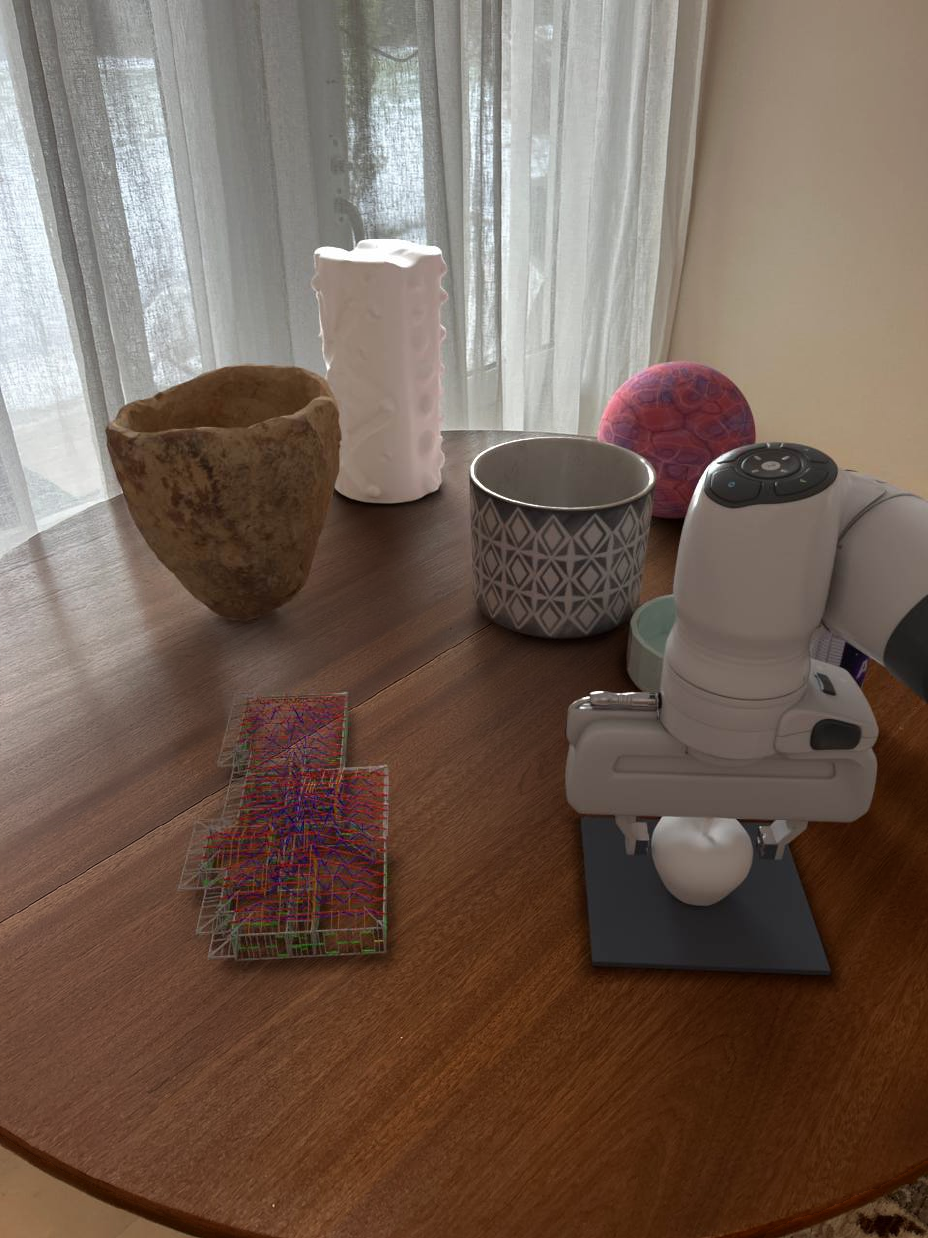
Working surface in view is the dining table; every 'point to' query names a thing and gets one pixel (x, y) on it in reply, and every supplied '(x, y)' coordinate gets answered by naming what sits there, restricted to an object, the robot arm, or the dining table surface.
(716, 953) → the mat
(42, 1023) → the dining table surface
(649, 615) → the fruit bowl
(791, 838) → the robot arm
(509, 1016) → the dining table surface
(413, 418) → the vase
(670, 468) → the decorative sphere
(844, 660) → the beverage can
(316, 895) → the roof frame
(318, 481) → the bowl
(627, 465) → the planter
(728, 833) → the plain white apple
